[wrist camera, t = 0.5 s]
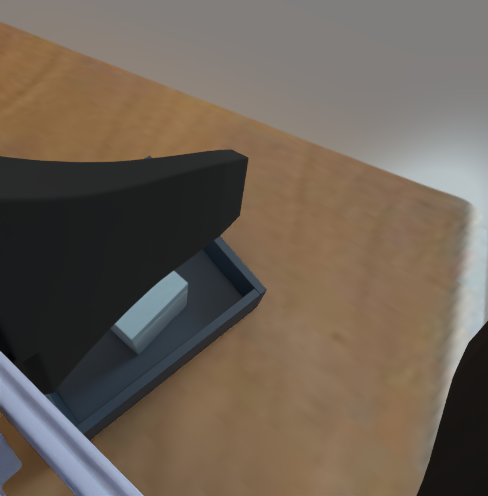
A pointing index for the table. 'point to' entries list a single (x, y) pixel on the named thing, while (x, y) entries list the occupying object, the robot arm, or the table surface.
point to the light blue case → (152, 312)
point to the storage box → (159, 342)
